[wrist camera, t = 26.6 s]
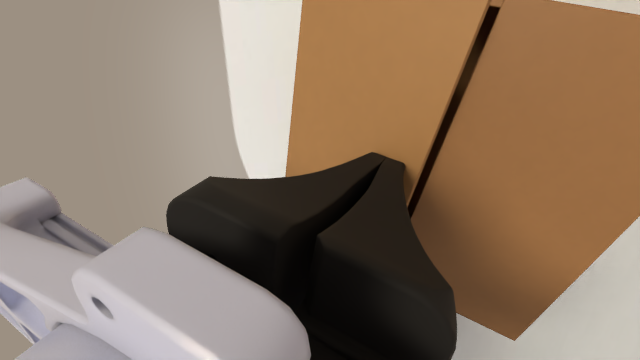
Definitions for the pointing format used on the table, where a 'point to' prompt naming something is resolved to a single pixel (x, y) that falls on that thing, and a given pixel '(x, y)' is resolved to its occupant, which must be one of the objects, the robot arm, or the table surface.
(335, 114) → the flap
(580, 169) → the carton
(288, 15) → the table surface
